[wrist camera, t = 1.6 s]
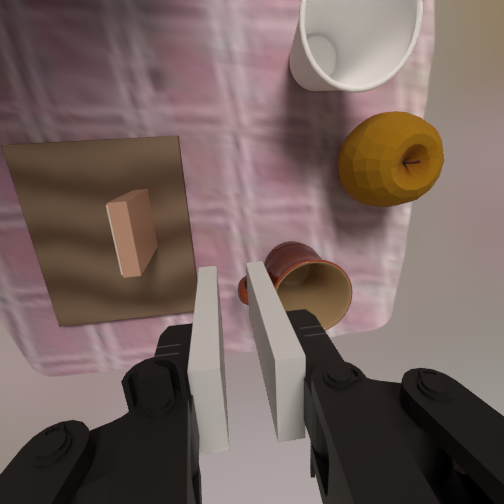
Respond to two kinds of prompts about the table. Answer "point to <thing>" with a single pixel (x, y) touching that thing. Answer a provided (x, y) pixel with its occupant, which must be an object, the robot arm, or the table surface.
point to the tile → (132, 231)
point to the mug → (306, 283)
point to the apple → (390, 159)
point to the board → (105, 225)
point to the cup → (353, 42)
